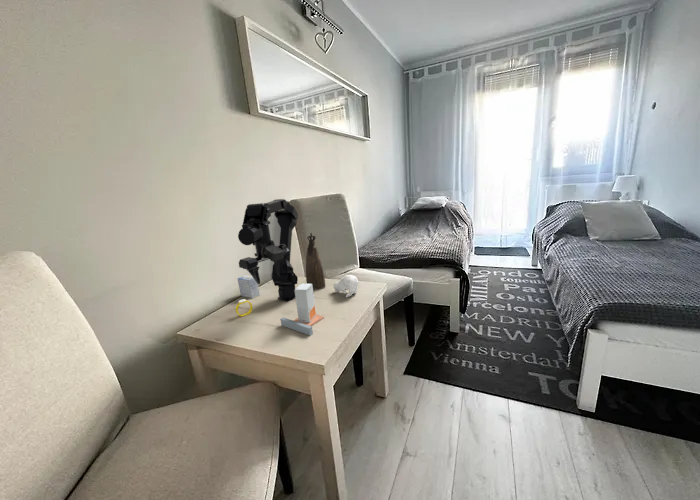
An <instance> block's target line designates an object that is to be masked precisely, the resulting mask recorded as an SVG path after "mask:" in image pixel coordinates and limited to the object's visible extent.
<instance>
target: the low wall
mask: <svg viewBox="0 0 700 500" xmlns="http://www.w3.org/2000/svg"><path fill="white" fill-rule="evenodd" d="M293 320H294V319H291V318H287V317H283V316H282V317H281V318H280V325H281V326H282V327H285V328H288V329H290V330H294V331H296V332H299V333H302V334H304V335H306V336H307V335H308V336H312V335H313V334H314V332H313V326H308V325H305V324H302V323H299V322H296V321H293Z"/></svg>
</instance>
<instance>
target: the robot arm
mask: <svg viewBox="0 0 700 500" xmlns="http://www.w3.org/2000/svg"><path fill="white" fill-rule="evenodd" d="M272 214H274V217H275V218H276V219H277V224H278V225H279V227H280V232H279V245H276V244H275V242H274V240H272V238H271V232H270V226H269V225H270V224H271V221H270V220H269V218H270V217H272ZM298 219H299V214H298V211H297V209H296V208H295V206H293V205H292V204H290V203H289V202H287V200H286V199H284V198H280V199H274V200H271V201H269V202H264V203H263V202H262V203H250V204H249V203H248V204H247V205H246V208H245V211H244V216H243V221H242V225H241V229H240V230H239V232H238V233H237V237H238V241H239V242H240V244H242V245H244V246H250V245H252V246H254V247H255V251H256V253H254V257H250V256H248V257H244V258H241V259H239V261H238V268H240V269H243V270H246V271H247V272H248V273H249V274H250V276H252V277H253V278H254V279H255V281H256V282H257V284H258V285H260V284H261V278H260V274H259V269H260V266H258V265H259V263H262V262H265V261H267V260H270V261H271V262H273V264H272V272H271V279H272V282H273V284H274V286H275V287H278V289H277V292H278V297H277V299H278V300H281V301H285V302H290V301H291V300H293V299H296V297H295V289H296V285H298V280H299V279H298V276H297V274H296V273H295V272H294V267H293V266H292V264H291V253H292V252H291V251H292V240H293V239H292V236H293V229H294V228H295V227H296V225H297V222H298Z"/></svg>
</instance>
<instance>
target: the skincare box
mask: <svg viewBox="0 0 700 500" xmlns="http://www.w3.org/2000/svg"><path fill="white" fill-rule="evenodd" d="M295 297H296V298H295V303H296V304H295V305H296V309H297V318H298V319H299V322H306V323H310V322H311V320H312V319H313V318H314V317H315V316H316V314H317V311H316V302H315V296H314V289H313V286H312V284H307V283H301V284H300V285H298V286H297V287H295Z"/></svg>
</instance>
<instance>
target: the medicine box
mask: <svg viewBox="0 0 700 500" xmlns="http://www.w3.org/2000/svg"><path fill="white" fill-rule="evenodd" d="M237 283H238V288H239V293H240V297H244V298H251V299H253V298H255V297H258V296H260V295H261V294H260V288H259V284H257V282H256V281H255V279H254V278H253V277H252V275H244V274H243V275H242V276H239V277H238V278H237Z"/></svg>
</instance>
